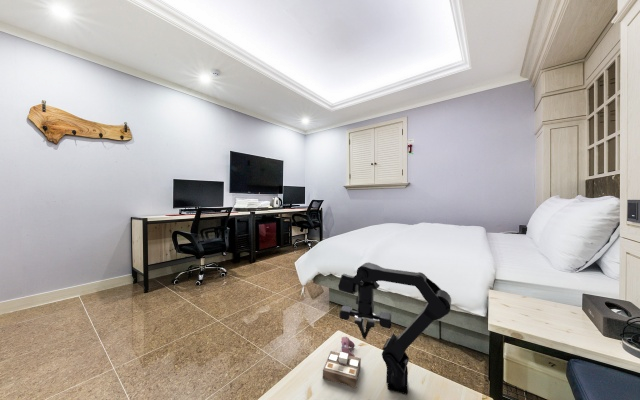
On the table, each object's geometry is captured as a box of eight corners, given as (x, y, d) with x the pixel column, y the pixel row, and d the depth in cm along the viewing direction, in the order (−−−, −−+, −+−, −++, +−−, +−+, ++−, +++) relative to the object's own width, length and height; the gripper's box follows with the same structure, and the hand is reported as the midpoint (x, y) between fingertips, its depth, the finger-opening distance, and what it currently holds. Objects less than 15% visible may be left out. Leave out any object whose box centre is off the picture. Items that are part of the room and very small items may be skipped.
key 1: (337, 362, 88) (338, 355, 88) (336, 367, 85) (336, 360, 85) (330, 360, 89) (330, 353, 89) (328, 365, 86) (328, 358, 86)
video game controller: (345, 349, 99) (339, 334, 99) (355, 345, 98) (348, 330, 99) (346, 366, 89) (338, 349, 89) (357, 361, 88) (349, 345, 89)
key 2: (358, 367, 86) (358, 360, 86) (357, 373, 83) (357, 366, 83) (350, 365, 87) (350, 358, 86) (349, 371, 84) (349, 364, 84)
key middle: (348, 360, 87) (348, 353, 87) (346, 365, 84) (346, 359, 84) (340, 358, 88) (340, 351, 88) (338, 363, 85) (338, 357, 85)
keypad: (360, 365, 87) (360, 357, 87) (356, 387, 77) (356, 378, 77) (330, 358, 91) (330, 350, 91) (322, 378, 81) (322, 369, 81)
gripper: (391, 292, 90) (390, 331, 90) (345, 285, 96) (344, 322, 96) (391, 305, 79) (390, 349, 79) (339, 296, 85) (338, 337, 85)
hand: (364, 338), depth 85 cm, fingers closed
